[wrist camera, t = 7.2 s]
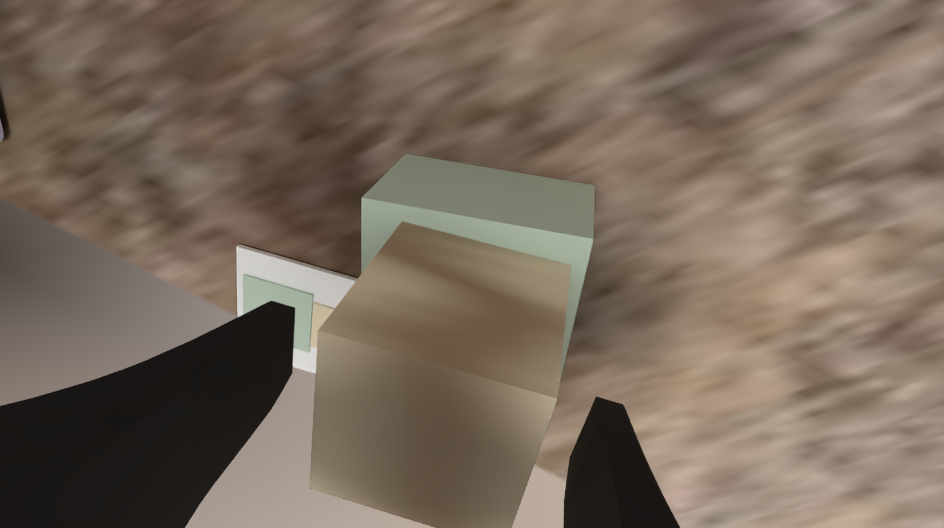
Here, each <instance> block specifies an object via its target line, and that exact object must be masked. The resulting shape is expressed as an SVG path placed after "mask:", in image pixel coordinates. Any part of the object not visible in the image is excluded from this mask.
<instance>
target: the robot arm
mask: <svg viewBox="0 0 944 528" xmlns="http://www.w3.org/2000/svg"><path fill="white" fill-rule="evenodd" d="M3 138H4V133H3V128H2V124H1V119H0V142H1V141H2V140H3ZM294 327H295V307H291V306H288V305H285V304H281V303H278V302H274V301H269V302H267V303H265V304H263V305H261V306H259V307H257V308H255V309H253V310H251V311H249V312H247V313H245V314H243V315H241V316H239V317H237V318H236V319H234V320H232V321H230V322H228V323H226V324H224V325H222V326H220V327H218V328H216V329H214V330H212V331H210V332H208V333H206V334H203V335H202V336H199V337H197V338H195V339H193V340H191V341H189V342H187V343H185V344H183V345H180V346H178V347H175V348H173V349H171V350H169V351H166V352H164V353H162V354H160V355H157V356H155V357H153V358H151V359H148V360H146V361H143V362H141V363H138V364H136V365H133V366H131V367H128V368H126V369H123V370H121V371H117V372H114V373H112V374H109V375H106V376H103V377H101V378H98V379H95V380H92V381H89V382H85V383H82V384H79V385H75V386H72V387H69V388H65V389H62V390H58V391H55V392H52V393H48V394H45V395H41V396H38V397H34V398H31V399H27V400H23V401H19V402H15V403H11V404H6V405H2V406H0V528H185V527H186V525H187V523H188V522H189V520H190V519H191V517H192V515H193V514H194V512H195V511H196V509H197V507H198V506H199V504H200V503H201V501H202V500H203V499H204V497H205V496H206V494H207V493H208V492H209V490H210V489H211V487H212V486H213V485H214V483H215V482H216V481H217V480H218V478H219V477H220V476H221V474H222V473H223V472H224V470H225V469H226V468H227V467H228V465H229V464H230V463H231V461H232V460H233V459H234V457H235V456H236V455H237V454H238V452H239V451H240V450H241V448H242V447H243V446H244V445H245V443H246V442H247V441H248V439H249V438H250V437H251V435H252V434H253V433H254V431H255V430H256V429H257V428H258V426H259V425H260V424H261V422H262V421H263V419H264V418H265V417H266V416H267V414H268V413H269V412H270V410H271V409H272V407H273V405H274V404H275V402H276V400H277V399H278V397H279V395H280V394H281V392H282V390H283V389H284V387H285V385H286V383H287V381H288V380H289V378H290V376H291V374H292V368H293V347H294ZM564 528H680V526H679V525H678V523H677V521H676V519H675V517H674V515H673V514H672V512H671V510H670V508H669V506H668V504H667V502H666V500H665V498H664V496H663V494H662V492H661V490H660V488H659V486H658V484H657V482H656V479H655V477H654V475H653V473H652V471H651V469H650V467H649V464H648V462H647V460H646V458H645V455H644V453H643V451H642V448H641V446H640V444H639V441H638V439H637V437H636V434H635V432H634V429H633V427H632V424H631V422H630V419H629V417H628V414H627V412H626V409H625V407H624V406H623V404H620V403H616V402H613V401H609V400H606V399H603V398H599V397H596V398H595V400H594V403H593V405H592V407H591V410H590V412H589V414H588V417H587V419H586V421H585V424H584V426H583V428H582V430H581V433H580V435H579V437H578V440H577V442H576V444H575V447H574V449H573V451H572V454H571V456H570V460H569V467H568V474H567V481H566V489H565V498H564Z"/></svg>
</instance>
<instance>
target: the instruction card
mask: <svg viewBox="0 0 944 528" xmlns="http://www.w3.org/2000/svg"><path fill="white" fill-rule="evenodd" d="M236 251H237V313H238V317H239V316H241V315H243V314H245V313H247V312H249V311H251V310H253V309H255V308H257V307H259V306H261V305H263V304H265V303H267V302H269V301H274V302H278V303H281V304H285V305H288V306H291V307H295V327H294V347H293V367H295V368H298V369H302V370H305V371H308V372H311V373H315V374H316V356H317V338H318V330H319V328H320V327H321V326H322V325H323V323H324V322H325V321H326V319H327V318H328V317H329V315H330V314H331V313H332V312H333V310H334V309H335V308H336V306H337V305H338V304H339V302H340V301H341V300H342V299H343V297H344V296H345V295H346V293H347V292H348V291H349V289H350V288H351V287H352V286H353V284H354V283H355V282H356V280H357V279H358V278H355V277H351V276H348V275H344V274H341V273H337V272H334V271H330V270H327V269H323V268H320V267H317V266H313V265H310V264H306V263H303V262H299V261H296V260H292V259H289V258H285V257H282V256H279V255H275V254H272V253H268V252H265V251H261V250H258V249H254V248H251V247H247V246H244V245H241V244H239V245H238V246H237V247H236Z"/></svg>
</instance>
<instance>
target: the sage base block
mask: <svg viewBox="0 0 944 528" xmlns="http://www.w3.org/2000/svg"><path fill="white" fill-rule="evenodd" d="M594 198H595V185H590V184H584V183H578V182H572V181H566V180H560V179H554V178H548V177H542V176H536V175H530V174H524V173H518V172H512V171H506V170H500V169H494V168H488V167H482V166H476V165H470V164H464V163H458V162H452V161H446V160H440V159H434V158H428V157H422V156H416V155H410V154H405V155H404V156H403V157H402V158H401V159H400V160H399V161H398V162H397V163H396V164H395V165H394V166H393V167H392V168H391V169H390V170H389V171H388V172H387V173H386V174H385V175H384V176H383V177H382V178H381V179H380V180H379V181H378V182H377V183H376V184H375V185H374V186H373V187H372V188H371V189H370V190H369V191H368V192H367V193H366V194H365V195H364V196H363V197H362V207H361V274H362V273H363V271H364V270H365V269H366V267H367V266H368V265H369V264H370V262H371V261H372V260H373V258H374V257H375V256H376V254H377V253H378V252H379V251H380V249H381V248H382V247H383V245H384V244H385V243H386V241H387V240H388V239H389V238H390V236H391V235H392V234H393V232H394V231H395V230H396V228H397V227H398V226H399V225H400V223H401V222H402V221H404V222H408V223H412V224H415V225H419V226H423V227H427V228H431V229H434V230H438V231H442V232H446V233H450V234H454V235H457V236H461V237H465V238H469V239H473V240H476V241H480V242H484V243H488V244H492V245H495V246H499V247H503V248H507V249H511V250H514V251H518V252H522V253H526V254H530V255H534V256H537V257H541V258H545V259H549V260H553V261H556V262H560V263H564V264H568V265H571V271H570V281H569V291H568V301H567V310H566V320H565V330H564V340H563V350H562V359H561V369H560V379H559V384H560V380H561V375H562V371H563V367H564V363H565V358H566V354H567V350H568V346H569V341H570V337H571V333H572V329H573V324H574V320H575V316H576V312H577V308H578V303H579V299H580V295H581V291H582V286H583V282H584V278H585V274H586V269H587V265H588V261H589V257H590V252H591V248H592V244H593V240H594ZM551 417H552V415H551Z"/></svg>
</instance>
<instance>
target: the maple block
mask: <svg viewBox="0 0 944 528" xmlns="http://www.w3.org/2000/svg"><path fill="white" fill-rule="evenodd" d="M570 271H571V265H568V264H564V263H560V262H556V261H553V260H549V259H545V258H541V257H537V256H534V255H530V254H526V253H522V252H518V251H514V250H511V249H507V248H503V247H499V246H495V245H492V244H488V243H484V242H480V241H476V240H473V239H469V238H465V237H461V236H457V235H454V234H450V233H446V232H442V231H438V230H434V229H431V228H427V227H423V226H419V225H415V224H412V223H408V222H404V221H402V222H401V223H400V225H399V226H398V227H397V228H396V230H395V231H394V232H393V234H392V235H391V236H390V238H389V239H388V240H387V241H386V243H385V244H384V245H383V247H382V248H381V249H380V251H379V252H378V253H377V254H376V256H375V257H374V258H373V260H372V261H371V262H370V264H369V265H368V266H367V267H366V269H365V270H364V271H363V273H362V274H361V275H360V276H359V278H358V279H357V280H356V282H355V283H354V284H353V286H352V287H351V288H350V289H349V291H348V292H347V293H346V295H345V296H344V297H343V299H342V300H341V301H340V302H339V304H338V305H337V306H336V308H335V309H334V310H333V312H332V313H331V314H330V315H329V317H328V318H327V319H326V321H325V322H324V323H323V325H322V326H321V327H320V328H319V330H318V338H317V356H316V375H315V376H316V377H315V394H314V413H313V433H312V452H311V470H310V489H313V490H316V491H319V492H323V493H326V494H329V495H332V496H335V497H339V498H342V499H345V500H349V501H352V502H355V503H358V504H361V505H364V506H368V507H371V508H374V509H377V510H381V511H384V512H387V513H390V514H393V515H397V516H400V517H403V518H406V519H410V520H413V521H416V522H419V523H423V524H426V525H429V526H432V527H435V528H512V525H513V522H514V519H515V517H516V514H517V511H518V508H519V505H520V503H521V500H522V497H523V494H524V491H525V488H526V486H527V483H528V480H529V477H530V474H531V472H532V469H533V466H534V463H535V460H536V458H537V455H538V452H539V449H540V446H541V444H542V441H543V438H544V435H545V432H546V430H547V427H548V424H549V421H550V418H551V415H552V413H553V410H554V407H555V404H556V401H557V399H558V389H559V379H560V369H561V359H562V350H563V340H564V330H565V320H566V310H567V301H568V291H569V281H570Z"/></svg>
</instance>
